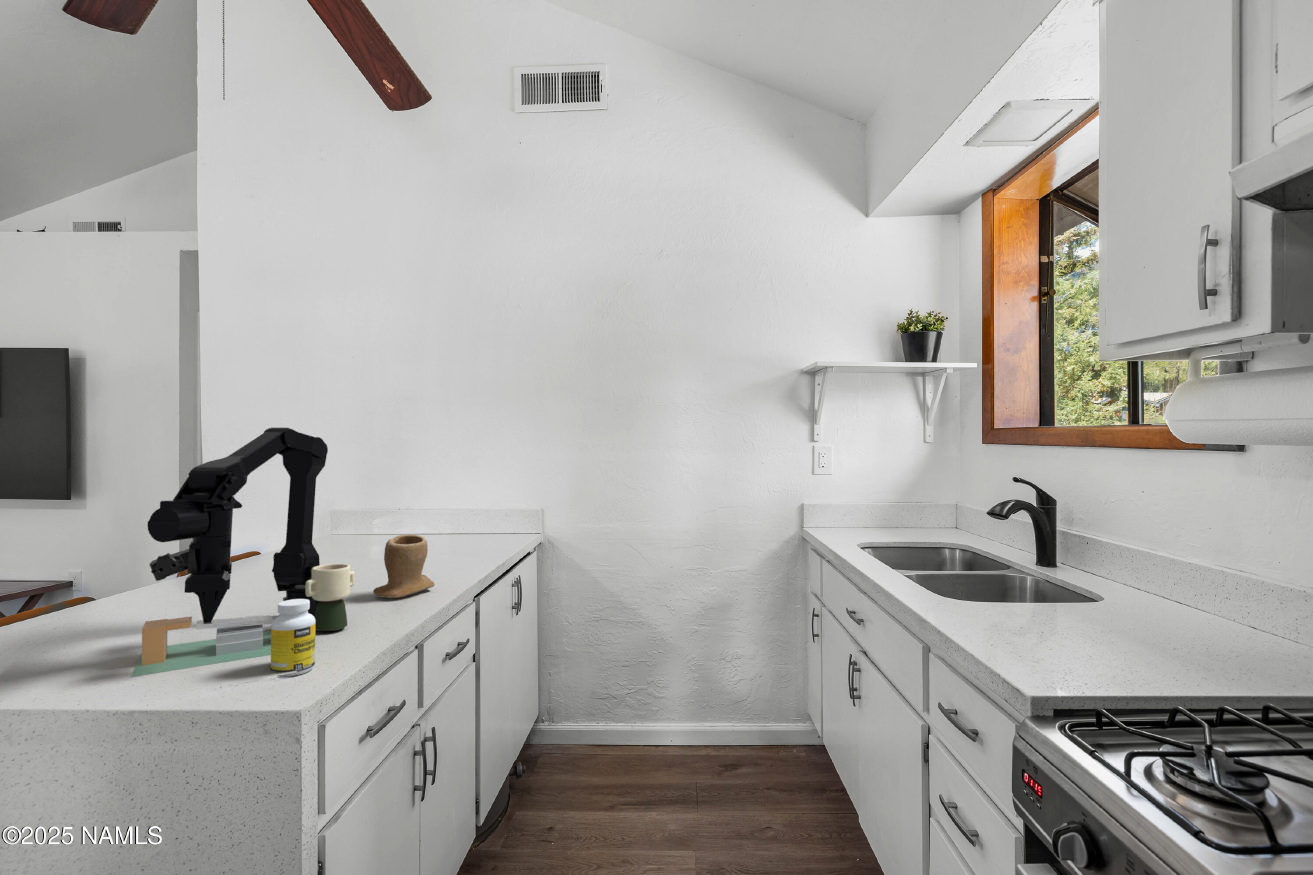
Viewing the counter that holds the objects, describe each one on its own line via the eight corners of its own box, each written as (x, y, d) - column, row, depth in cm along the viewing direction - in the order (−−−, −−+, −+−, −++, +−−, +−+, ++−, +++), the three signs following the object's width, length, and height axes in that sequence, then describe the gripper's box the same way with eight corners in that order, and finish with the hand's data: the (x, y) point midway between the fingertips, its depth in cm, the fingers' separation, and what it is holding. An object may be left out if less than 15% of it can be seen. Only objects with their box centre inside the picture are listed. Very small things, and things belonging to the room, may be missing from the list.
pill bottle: (283, 681, 101) (283, 609, 101) (262, 673, 104) (263, 603, 104) (323, 668, 106) (323, 600, 106) (302, 661, 110) (302, 595, 110)
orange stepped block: (191, 650, 112) (192, 615, 112) (189, 658, 108) (190, 622, 108) (145, 656, 109) (145, 621, 109) (141, 665, 105) (142, 628, 105)
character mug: (342, 621, 134) (342, 560, 134) (365, 625, 131) (365, 563, 131) (293, 635, 124) (294, 570, 125) (317, 640, 121) (318, 573, 121)
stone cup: (400, 604, 149) (400, 541, 149) (366, 598, 154) (366, 537, 154) (447, 590, 162) (447, 532, 162) (414, 585, 168) (414, 529, 168)
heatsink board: (290, 633, 126) (290, 600, 126) (296, 656, 112) (296, 620, 112) (143, 654, 113) (143, 618, 113) (130, 683, 100) (131, 642, 100)
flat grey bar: (284, 620, 120) (284, 613, 120) (285, 624, 117) (285, 618, 117) (196, 625, 112) (197, 619, 112) (195, 630, 109) (196, 623, 109)
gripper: (161, 530, 115) (156, 615, 115) (148, 544, 100) (142, 642, 99) (233, 528, 122) (229, 609, 121) (232, 541, 106) (227, 633, 106)
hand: (207, 622), depth 112 cm, fingers closed, pressing on flat grey bar
